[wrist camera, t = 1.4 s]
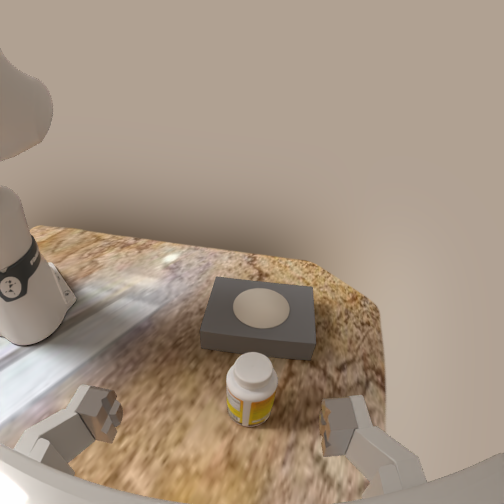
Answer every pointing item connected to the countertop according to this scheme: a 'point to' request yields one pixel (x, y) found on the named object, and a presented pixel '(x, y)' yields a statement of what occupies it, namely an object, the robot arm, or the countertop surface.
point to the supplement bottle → (251, 389)
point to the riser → (260, 319)
